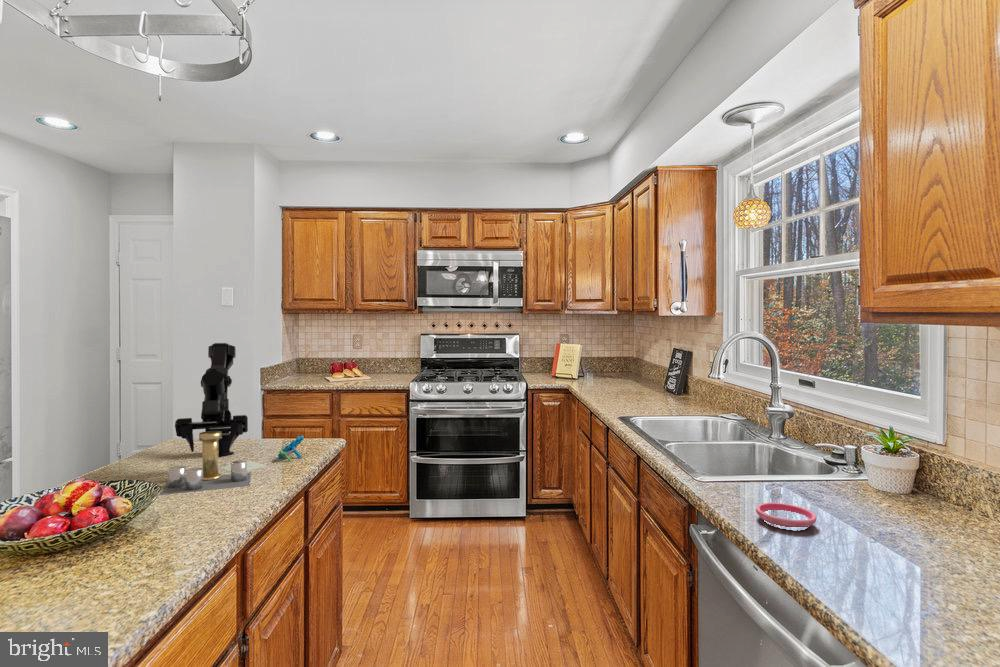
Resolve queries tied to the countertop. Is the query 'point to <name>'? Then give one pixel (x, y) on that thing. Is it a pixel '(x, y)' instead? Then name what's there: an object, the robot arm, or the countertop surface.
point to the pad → (250, 466)
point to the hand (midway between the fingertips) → (210, 449)
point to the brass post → (210, 454)
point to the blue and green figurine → (291, 448)
